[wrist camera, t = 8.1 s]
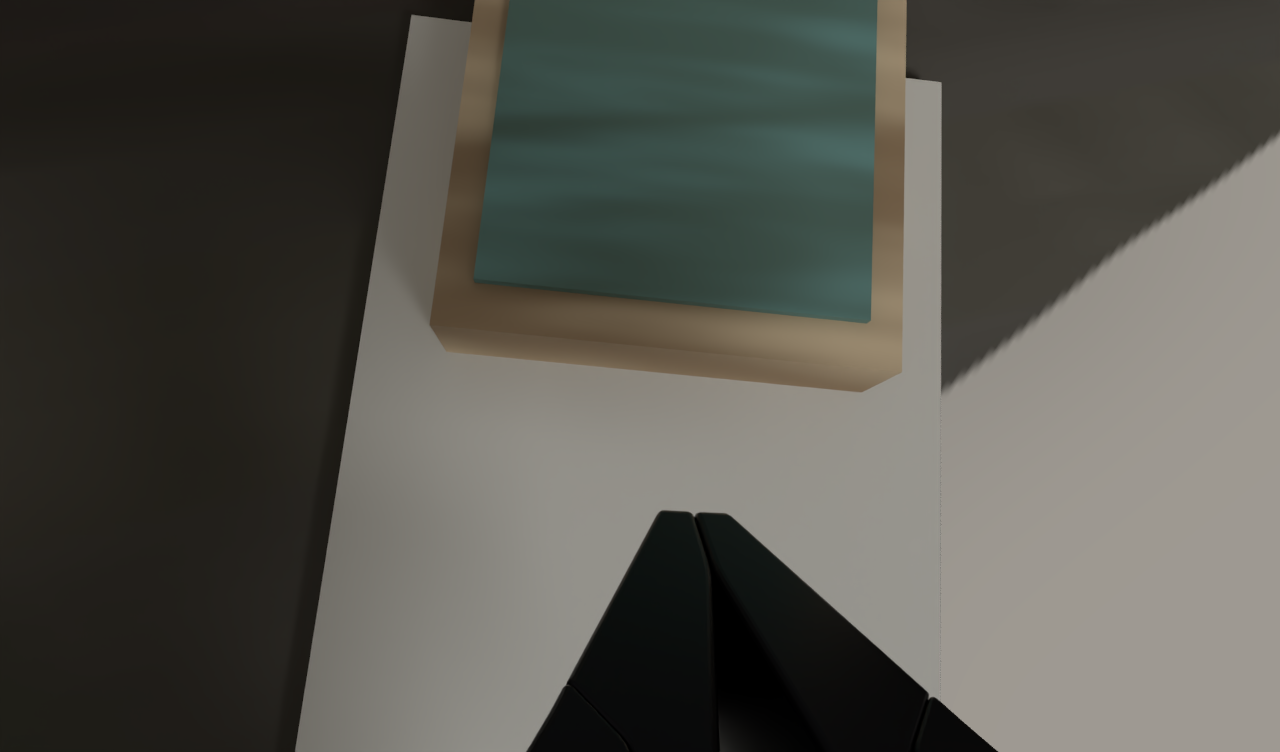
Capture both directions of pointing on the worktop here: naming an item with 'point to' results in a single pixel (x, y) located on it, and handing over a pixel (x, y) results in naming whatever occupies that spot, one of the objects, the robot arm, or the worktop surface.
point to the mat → (589, 476)
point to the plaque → (681, 189)
